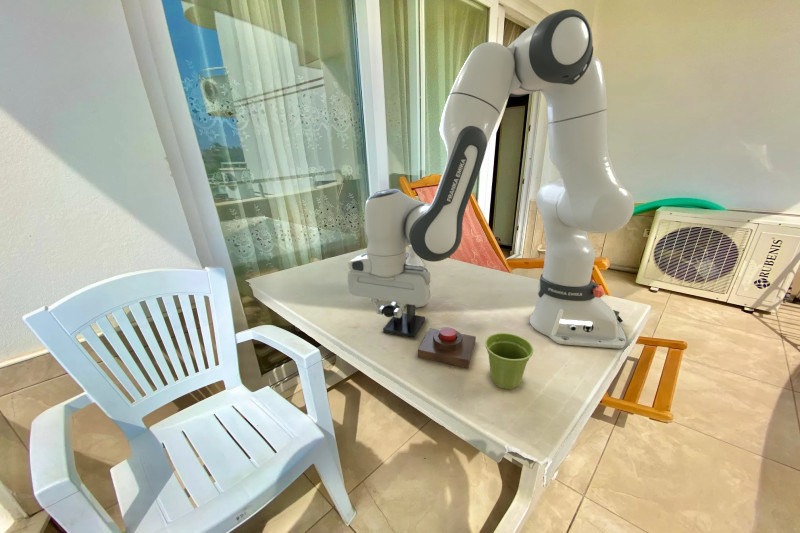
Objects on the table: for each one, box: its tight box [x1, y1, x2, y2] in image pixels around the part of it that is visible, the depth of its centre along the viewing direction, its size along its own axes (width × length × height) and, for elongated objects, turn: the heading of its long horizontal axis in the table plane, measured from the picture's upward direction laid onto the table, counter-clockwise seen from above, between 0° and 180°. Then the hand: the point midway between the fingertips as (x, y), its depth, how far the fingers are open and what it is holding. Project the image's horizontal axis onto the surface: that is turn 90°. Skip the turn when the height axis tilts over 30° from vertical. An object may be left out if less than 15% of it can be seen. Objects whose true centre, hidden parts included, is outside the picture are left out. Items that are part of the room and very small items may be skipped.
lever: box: [383, 302, 397, 318], centre depth 78 cm, size 13×3×3 cm, turn 158°
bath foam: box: [404, 245, 426, 309], centre depth 96 cm, size 7×7×20 cm
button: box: [439, 326, 457, 342], centre depth 74 cm, size 4×4×2 cm
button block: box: [417, 327, 476, 369], centre depth 75 cm, size 12×10×4 cm
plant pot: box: [484, 332, 534, 390], centre depth 64 cm, size 9×9×9 cm
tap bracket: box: [382, 304, 426, 339], centre depth 84 cm, size 10×9×13 cm
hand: (389, 315), depth 75 cm, fingers closed on lever, 3 cm apart
